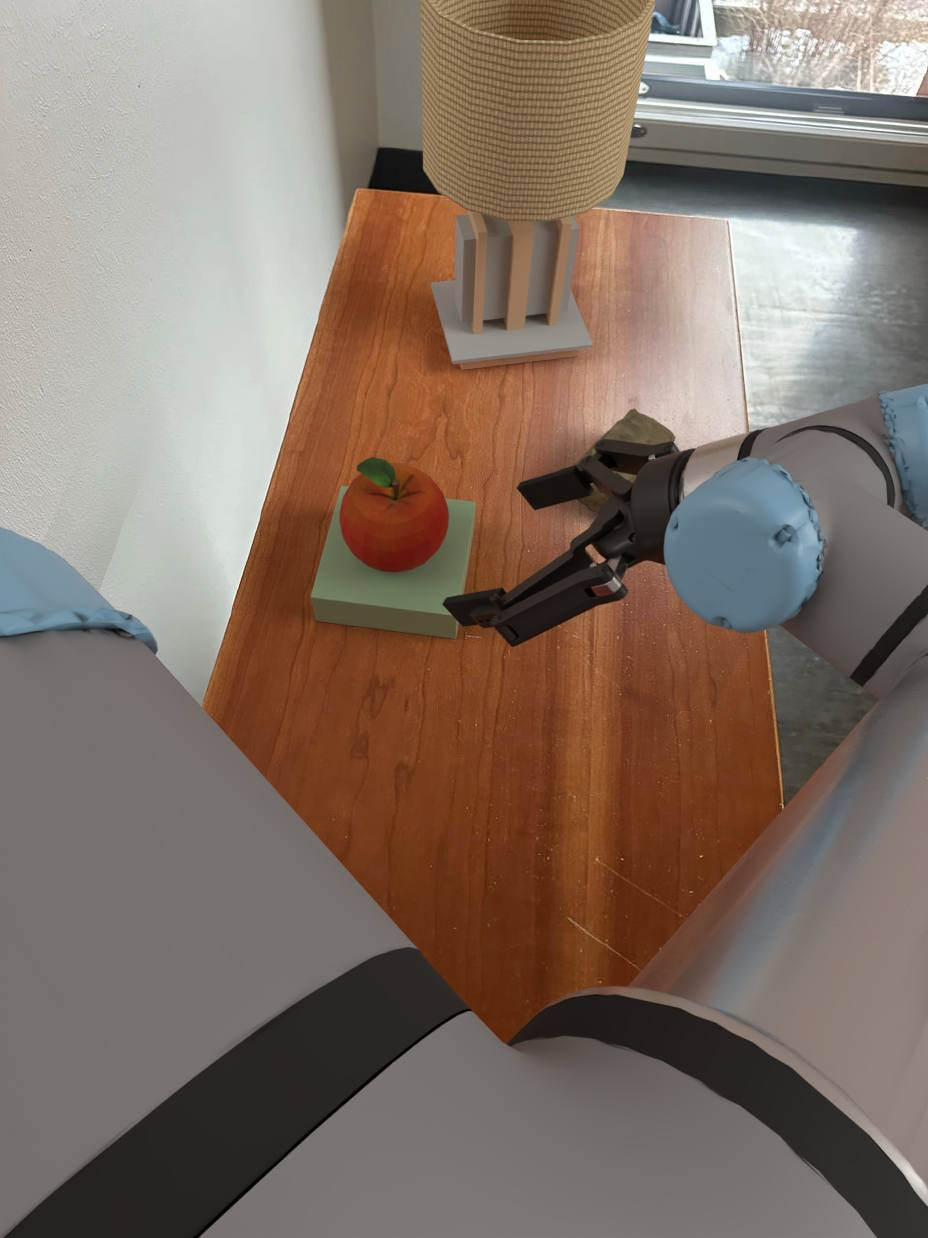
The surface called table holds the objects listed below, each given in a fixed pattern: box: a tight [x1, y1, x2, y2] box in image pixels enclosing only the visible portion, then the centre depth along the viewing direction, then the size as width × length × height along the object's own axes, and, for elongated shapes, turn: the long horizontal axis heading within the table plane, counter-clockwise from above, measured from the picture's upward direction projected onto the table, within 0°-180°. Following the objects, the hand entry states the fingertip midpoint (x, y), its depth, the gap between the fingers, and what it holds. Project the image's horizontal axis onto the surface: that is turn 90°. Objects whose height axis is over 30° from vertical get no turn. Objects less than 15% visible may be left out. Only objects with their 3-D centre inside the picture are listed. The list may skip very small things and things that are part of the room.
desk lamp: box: [420, 0, 657, 371], centre depth 89 cm, size 20×20×35 cm
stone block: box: [574, 408, 677, 515], centre depth 90 cm, size 6×12×5 cm, turn 142°
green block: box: [310, 485, 477, 640], centre depth 83 cm, size 13×13×4 cm
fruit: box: [339, 456, 449, 572], centre depth 77 cm, size 10×10×10 cm
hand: (492, 551), depth 74 cm, fingers open, 13 cm apart
